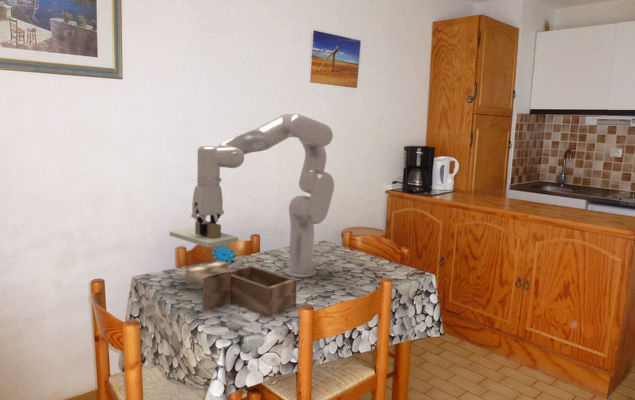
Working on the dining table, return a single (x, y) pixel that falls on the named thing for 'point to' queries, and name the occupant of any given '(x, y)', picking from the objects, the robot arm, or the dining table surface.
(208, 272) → the bar
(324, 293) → the dining table surface
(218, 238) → the lid
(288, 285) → the brown wooden box
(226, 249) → the blue spiky virus toy
